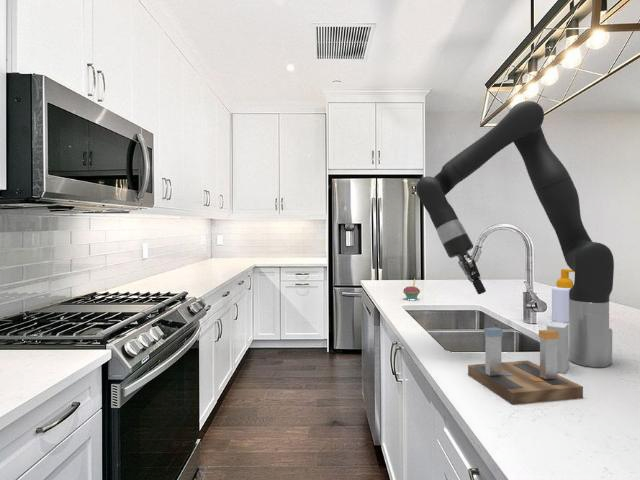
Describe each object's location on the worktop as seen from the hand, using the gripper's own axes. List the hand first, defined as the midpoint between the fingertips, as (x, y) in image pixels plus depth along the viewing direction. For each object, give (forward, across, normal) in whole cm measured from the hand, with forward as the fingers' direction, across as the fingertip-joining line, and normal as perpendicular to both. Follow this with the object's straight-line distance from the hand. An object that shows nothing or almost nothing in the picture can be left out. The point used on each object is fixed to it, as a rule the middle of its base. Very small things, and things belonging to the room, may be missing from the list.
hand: (482, 293), depth 114 cm
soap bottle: (+22, +62, -32) cm, 73 cm away
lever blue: (+18, -15, +8) cm, 25 cm away
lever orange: (+23, -15, -3) cm, 27 cm away
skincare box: (+25, +1, -8) cm, 27 cm away
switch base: (+23, -13, +4) cm, 27 cm away
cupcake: (-10, +98, +20) cm, 100 cm away
